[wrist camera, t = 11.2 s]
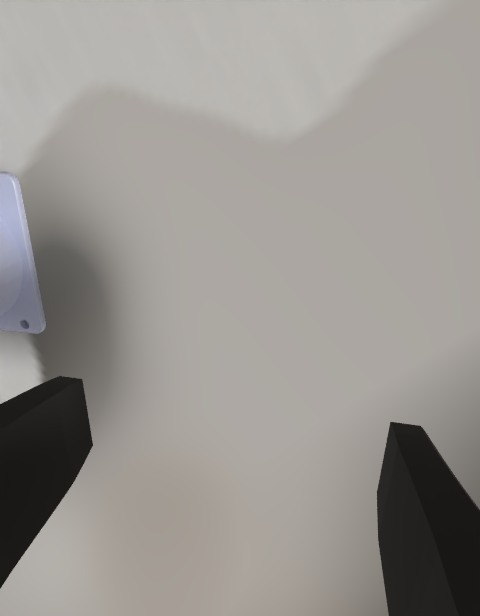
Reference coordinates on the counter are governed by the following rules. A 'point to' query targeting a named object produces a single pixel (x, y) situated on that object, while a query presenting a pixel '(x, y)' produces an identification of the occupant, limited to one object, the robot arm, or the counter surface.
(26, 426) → the robot arm
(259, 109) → the counter surface
